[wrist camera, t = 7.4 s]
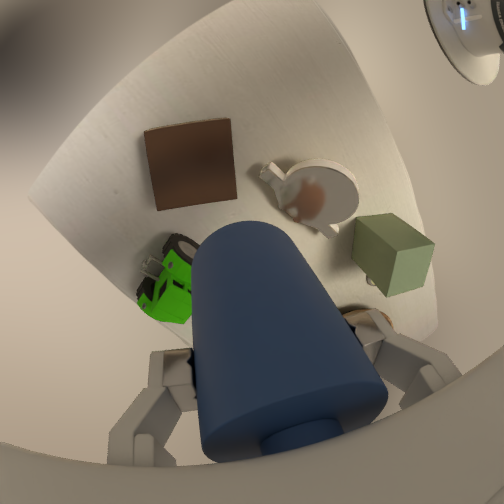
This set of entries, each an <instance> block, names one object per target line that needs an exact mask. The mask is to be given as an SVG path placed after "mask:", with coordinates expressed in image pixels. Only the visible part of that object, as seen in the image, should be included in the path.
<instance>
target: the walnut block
mask: <svg viewBox="0 0 504 504" xmlns="http://www.w3.org/2000/svg"><path fill="white" fill-rule="evenodd" d="M144 137H145V144H146V150H147V157H148V163H149V169H150V175H151V180H152V186H153V191H154V196H155V202H156V207H157V211H161V210H167V209H173V208H179V207H185V206H192V205H198V204H205V203H212V202H219V201H226V200H233V199H237V190H236V178H235V167H234V156H233V144H232V132H231V120H230V118H226V117H225V118H215V119H207V120H199V121H192V122H185V123H179V124H173V125H167V126H162V127H156V128H151V129H149V130H146V131H144Z"/></svg>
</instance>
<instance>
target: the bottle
mask: <svg viewBox="0 0 504 504" xmlns="http://www.w3.org/2000/svg"><path fill="white" fill-rule="evenodd" d="M191 301H192V331H193V352H194V368H195V382H196V395H197V407H198V416H199V417H198V418H199V427H200V437H201V444H202V450H203V452H204V454H205V455H206V456H207V457H208V458H209V459H211V460H213V461H215V462H217V463H223V462H230V461H237V460H244V459H250V458H255V457H261V456H266V455H271V454H275V453H280V452H284V451H288V450H292V449H296V448H300V447H304V446H307V445H311V444H314V443H318V442H321V441H324V440H327V439H331V438H334V437H337V436H339V435H342V434H345V433H348V432H351V431H353V430H356V429H359V428H361V427H364V426H366V425H369V424H370V423H371V422H372V421H373V420H374V419H375V418H376V417H377V416H378V415H379V414H380V413H381V411H382V410H383V409H384V407H385V405H386V403H387V400H388V391H387V388H386V386H385V384H384V383H383V381H382V379H381V378H380V376H379V374H378V373H377V371H376V369H375V368H374V366H373V364H372V363H371V361H370V359H369V358H368V356H367V354H366V353H365V351H364V350H363V348H362V346H361V345H360V343H359V342H358V340H357V338H356V337H355V335H354V334H353V332H352V330H351V329H350V327H349V326H348V324H347V322H346V321H345V319H344V318H343V316H342V315H341V313H340V311H339V310H338V308H337V307H336V305H335V304H334V302H333V301H332V299H331V298H330V296H329V295H328V293H327V291H326V290H325V288H324V287H323V285H322V284H321V282H320V281H319V279H318V278H317V276H316V275H315V273H314V272H313V270H312V269H311V267H310V266H309V264H308V263H307V261H306V260H305V258H304V257H303V256H302V254H301V253H300V251H299V250H298V248H297V247H296V245H295V244H294V242H293V241H292V240H291V238H290V237H289V236H288V235H287V234H286V233H285V232H284V231H282V230H281V229H279V228H278V227H276V226H273V225H271V224H268V223H265V222H259V221H241V222H236V223H232V224H229V225H226V226H224V227H222V228H220V229H218V230H217V231H215V232H214V233H212V234H211V235H210V236H209V237H207V238H206V239H205V240H204V242H203V243H202V244H201V245H200V247H199V248H198V249H197V251H196V253H195V255H194V258H193V261H192V266H191Z"/></svg>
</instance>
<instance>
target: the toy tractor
mask: <svg viewBox="0 0 504 504" xmlns="http://www.w3.org/2000/svg"><path fill="white" fill-rule="evenodd" d="M199 247H200V245H198V244H197V243H195V242H194V241H193V240H192V239H189V238H188V237H186V236H183V235H181V234H180V235H178V234H176V233H175V235H174V234H172V235H171V236H170V238H169V239H168V241H167V242H166V244H165V245H164V247H163V250H162V253H163V254H164V258H165V259H164V261H161V260H159V259H158V258H156V257H154V256H152V255H150V256H149V258H148V260H144V261H143V262H142V266H143V269H141V273H143V274H145V275H147V276H148V277H145V278H144V280H143V281H142V283H141V284H140V286H139V287H138V289H137V293H136V296H137V297H138V298H137V299H138V302H137V304H138V306H139V307H140V308H141V310H143V311H144V312H145V313H146V314H147V315H148V316H150V317H152V318H153V319H155V320H159V321H162V322H172V323H179V324H184V323H185V322H186V321H187V319H188V318H189V317H190V316H191V314H192V301H191V266H192V261H193V258H194V255H195V253H196V251H197V249H198V248H199ZM151 259H152V260H153V261H155V262H157V263H159V264H161V265H162V266H164V267H165V268H164V269H163V271H162V273H161V274H160V276H159V277H156V276H155V275H153V274H151V273H149V272H147V271H145V269H146V268H147V266H148V264H149V262H150V261H151Z"/></svg>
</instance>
